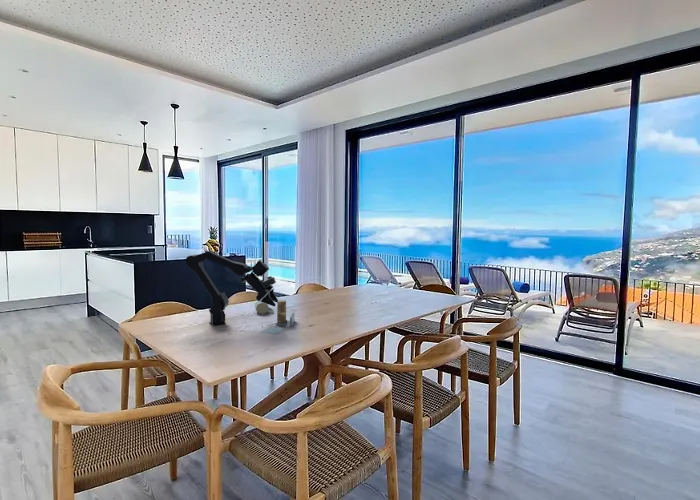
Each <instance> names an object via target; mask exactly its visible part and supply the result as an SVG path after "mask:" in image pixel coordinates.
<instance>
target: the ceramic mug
mask: <svg viewBox="0 0 700 500" xmlns="http://www.w3.org/2000/svg"><path fill="white" fill-rule="evenodd" d="M261 300H262V299H261ZM261 300H260V301H261ZM260 301H258V300H256V301H255V304H254V308H255V311H256V313H257V314H259V315H265V314H267V313H269V314H274V311H275V310H274V309H273V308H271V307H269V304H266V303H263V302H260Z"/></svg>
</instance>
